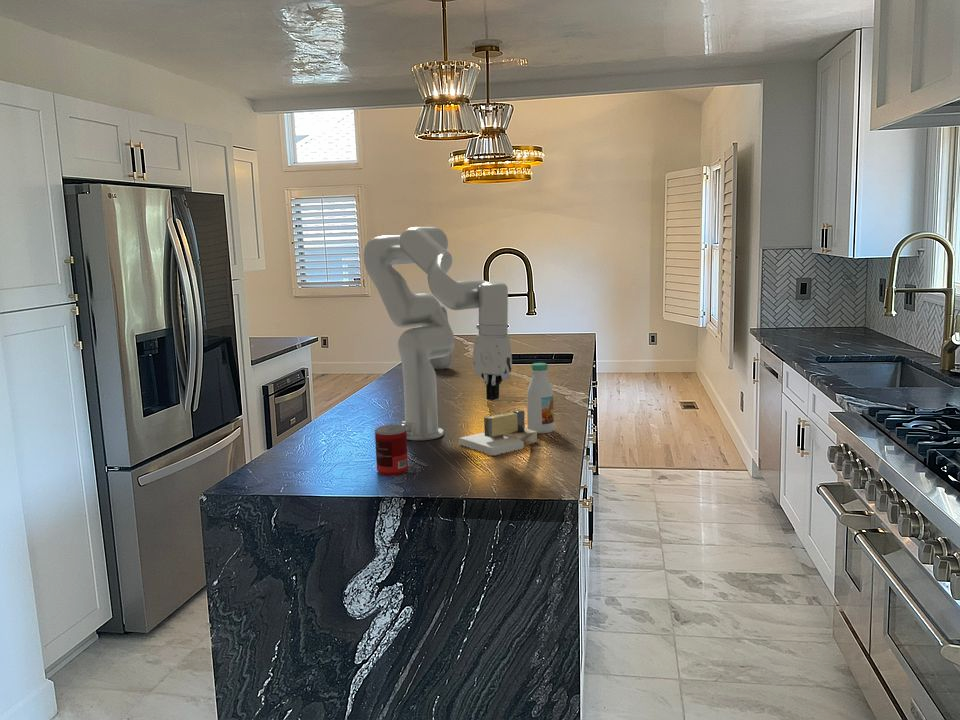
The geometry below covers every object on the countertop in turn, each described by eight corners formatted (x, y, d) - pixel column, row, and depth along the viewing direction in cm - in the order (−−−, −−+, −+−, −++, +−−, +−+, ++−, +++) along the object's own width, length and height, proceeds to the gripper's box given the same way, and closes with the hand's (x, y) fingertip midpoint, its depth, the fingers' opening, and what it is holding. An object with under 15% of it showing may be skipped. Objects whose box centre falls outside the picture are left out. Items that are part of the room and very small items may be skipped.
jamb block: (517, 446, 216) (517, 436, 216) (501, 441, 222) (501, 431, 221) (537, 442, 221) (536, 431, 220) (520, 437, 226) (520, 427, 226)
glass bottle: (426, 368, 350) (423, 304, 345) (448, 366, 353) (446, 303, 348) (431, 371, 340) (429, 306, 336) (454, 369, 343) (452, 305, 339)
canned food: (408, 466, 201) (407, 423, 199) (407, 475, 193) (405, 431, 191) (378, 467, 201) (376, 425, 199) (375, 476, 193) (373, 432, 191)
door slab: (493, 455, 208) (492, 426, 207) (459, 444, 220) (458, 416, 219) (523, 448, 214) (523, 419, 213) (489, 438, 226) (488, 410, 225)
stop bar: (520, 428, 223) (519, 409, 222) (527, 430, 220) (526, 411, 219) (483, 435, 216) (482, 416, 215) (490, 438, 213) (489, 418, 212)
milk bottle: (532, 435, 228) (531, 366, 225) (524, 429, 236) (522, 362, 233) (557, 432, 230) (556, 364, 227) (548, 426, 238) (547, 360, 235)
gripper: (461, 329, 208) (462, 397, 212) (506, 334, 199) (506, 406, 202) (480, 326, 214) (480, 392, 217) (524, 331, 204) (523, 400, 208)
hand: (492, 398), depth 210 cm, fingers closed
